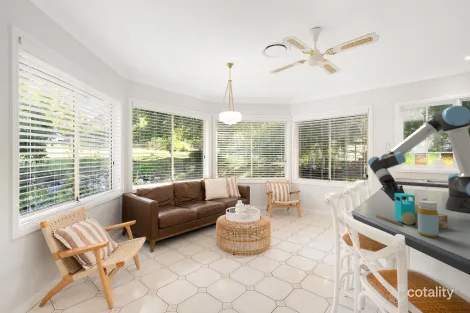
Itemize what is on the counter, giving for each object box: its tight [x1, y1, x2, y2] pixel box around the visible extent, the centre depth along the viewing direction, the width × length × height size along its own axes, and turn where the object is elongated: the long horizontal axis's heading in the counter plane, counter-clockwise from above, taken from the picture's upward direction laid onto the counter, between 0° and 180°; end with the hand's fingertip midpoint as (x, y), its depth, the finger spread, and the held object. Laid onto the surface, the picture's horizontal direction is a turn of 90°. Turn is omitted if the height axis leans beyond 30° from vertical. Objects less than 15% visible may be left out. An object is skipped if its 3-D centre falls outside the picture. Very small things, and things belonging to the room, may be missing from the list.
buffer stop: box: [415, 213, 448, 229], centre depth 114 cm, size 14×5×6 cm, turn 96°
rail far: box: [375, 214, 404, 227], centre depth 125 cm, size 1×18×1 cm, turn 5°
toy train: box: [394, 192, 428, 226], centre depth 121 cm, size 8×17×15 cm, turn 79°
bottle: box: [417, 199, 440, 238], centre depth 103 cm, size 7×7×15 cm
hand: (407, 211), depth 126 cm, fingers closed
